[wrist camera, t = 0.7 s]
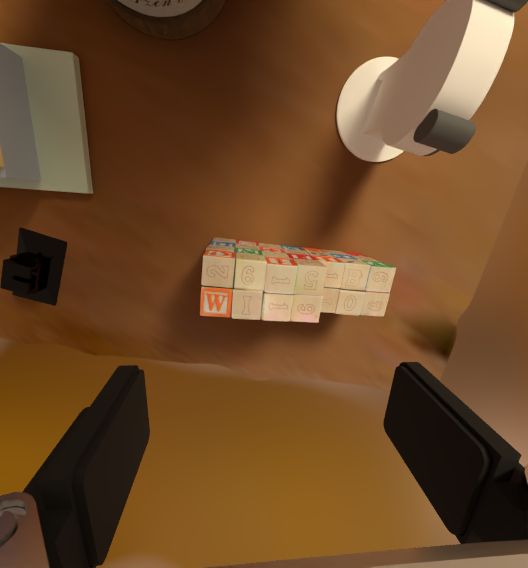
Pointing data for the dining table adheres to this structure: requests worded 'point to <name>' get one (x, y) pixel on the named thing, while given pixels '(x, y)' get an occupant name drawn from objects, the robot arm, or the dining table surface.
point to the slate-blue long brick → (16, 121)
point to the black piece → (35, 267)
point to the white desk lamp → (428, 84)
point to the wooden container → (168, 16)
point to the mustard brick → (1, 159)
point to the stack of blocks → (290, 282)
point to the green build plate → (55, 121)
